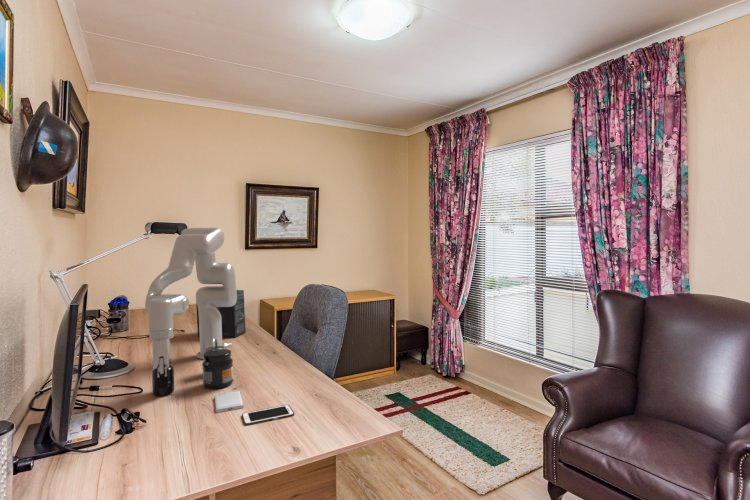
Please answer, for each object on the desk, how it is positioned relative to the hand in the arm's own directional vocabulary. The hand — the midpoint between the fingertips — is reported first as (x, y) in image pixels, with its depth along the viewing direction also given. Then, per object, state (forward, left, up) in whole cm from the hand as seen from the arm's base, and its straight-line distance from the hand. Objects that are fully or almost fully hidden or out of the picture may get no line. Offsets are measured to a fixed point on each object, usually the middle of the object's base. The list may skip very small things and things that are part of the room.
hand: (163, 383), depth 143 cm
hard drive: (-9, +26, -4) cm, 28 cm away
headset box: (-58, -59, -4) cm, 83 cm away
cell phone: (-11, +44, -4) cm, 46 cm away
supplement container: (-16, +8, -4) cm, 18 cm away
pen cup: (-22, -4, -3) cm, 23 cm away
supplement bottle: (0, 0, -4) cm, 4 cm away
